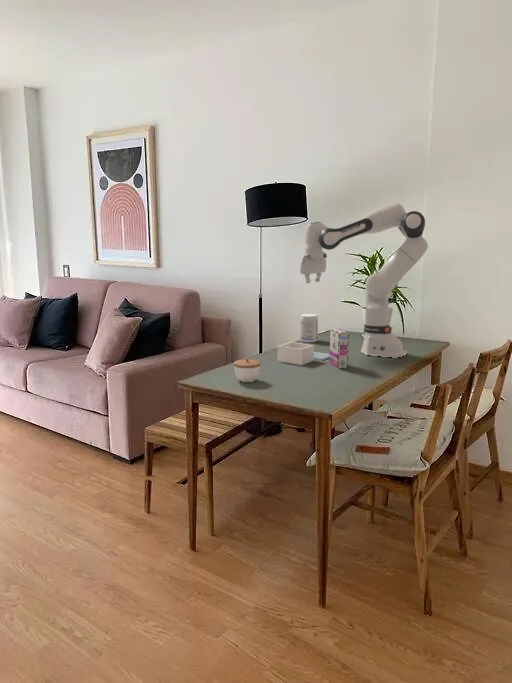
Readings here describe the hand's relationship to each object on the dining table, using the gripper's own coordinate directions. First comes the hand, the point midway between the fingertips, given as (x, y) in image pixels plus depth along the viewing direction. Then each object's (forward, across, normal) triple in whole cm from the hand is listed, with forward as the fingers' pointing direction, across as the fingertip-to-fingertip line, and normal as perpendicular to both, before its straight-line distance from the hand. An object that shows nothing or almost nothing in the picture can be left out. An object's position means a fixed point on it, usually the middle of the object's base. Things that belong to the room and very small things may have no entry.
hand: (313, 282), depth 272 cm
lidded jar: (+34, -71, -11) cm, 80 cm away
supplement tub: (+34, +14, +10) cm, 38 cm away
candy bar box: (+34, -28, -30) cm, 54 cm away
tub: (+34, -33, -11) cm, 49 cm away
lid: (+34, -20, -12) cm, 41 cm away
